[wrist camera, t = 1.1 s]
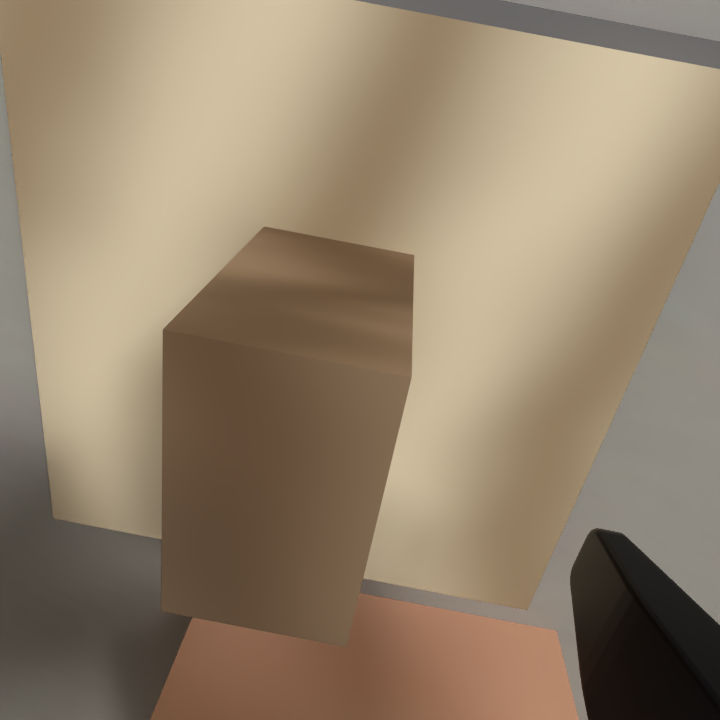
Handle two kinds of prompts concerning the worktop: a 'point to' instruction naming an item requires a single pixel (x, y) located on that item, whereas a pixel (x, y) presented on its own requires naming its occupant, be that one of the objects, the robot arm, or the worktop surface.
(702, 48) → the mat
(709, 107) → the lid
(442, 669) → the pink open tray
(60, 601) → the worktop surface
